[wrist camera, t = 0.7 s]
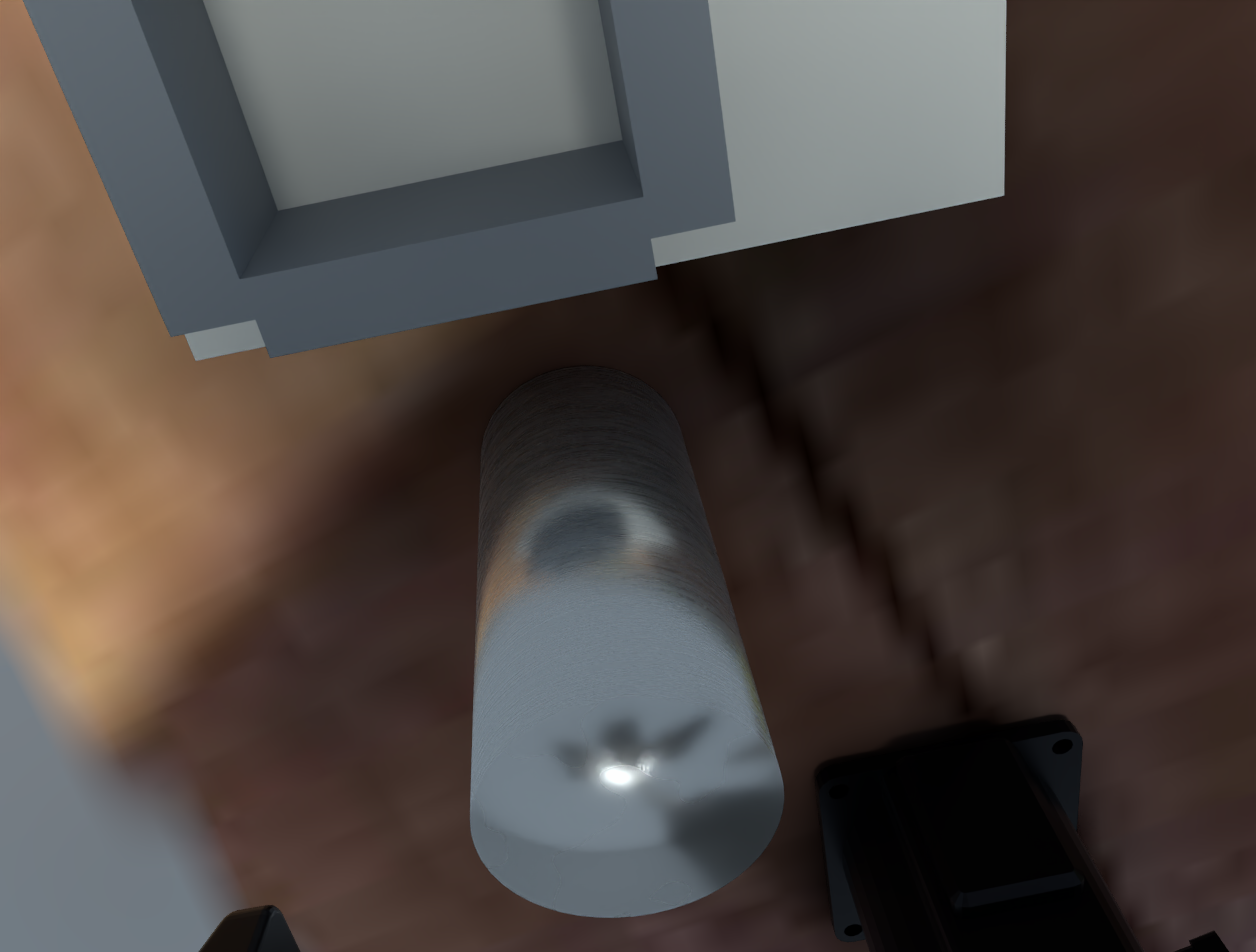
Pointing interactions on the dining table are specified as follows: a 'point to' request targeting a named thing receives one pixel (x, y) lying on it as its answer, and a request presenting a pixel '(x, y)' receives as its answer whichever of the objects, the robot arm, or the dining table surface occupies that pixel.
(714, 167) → the fitting plate
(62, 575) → the dining table surface
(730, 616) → the metal cylinder
